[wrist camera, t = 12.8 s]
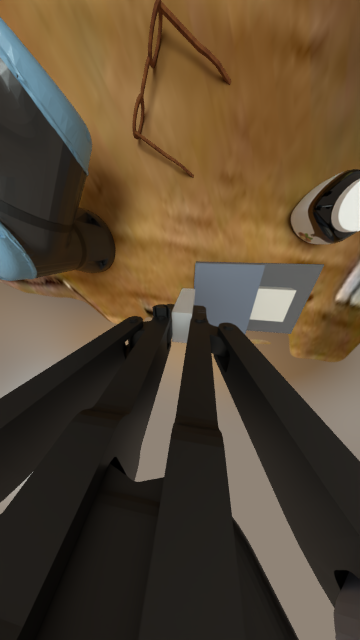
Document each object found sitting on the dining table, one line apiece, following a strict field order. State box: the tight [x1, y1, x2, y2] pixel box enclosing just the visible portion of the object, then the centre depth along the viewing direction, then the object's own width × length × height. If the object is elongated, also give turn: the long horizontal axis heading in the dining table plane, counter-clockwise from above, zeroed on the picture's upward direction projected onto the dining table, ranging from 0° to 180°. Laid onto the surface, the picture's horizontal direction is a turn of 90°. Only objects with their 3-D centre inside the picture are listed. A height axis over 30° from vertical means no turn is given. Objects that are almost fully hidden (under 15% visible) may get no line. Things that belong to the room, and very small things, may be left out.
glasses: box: [133, 0, 231, 177], centre depth 23 cm, size 13×13×5 cm
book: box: [194, 262, 265, 334], centre depth 38 cm, size 16×20×4 cm
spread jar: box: [291, 169, 360, 244], centre depth 24 cm, size 12×11×12 cm
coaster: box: [250, 286, 296, 322], centre depth 37 cm, size 9×9×2 cm
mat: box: [247, 263, 324, 334], centre depth 38 cm, size 14×20×1 cm
